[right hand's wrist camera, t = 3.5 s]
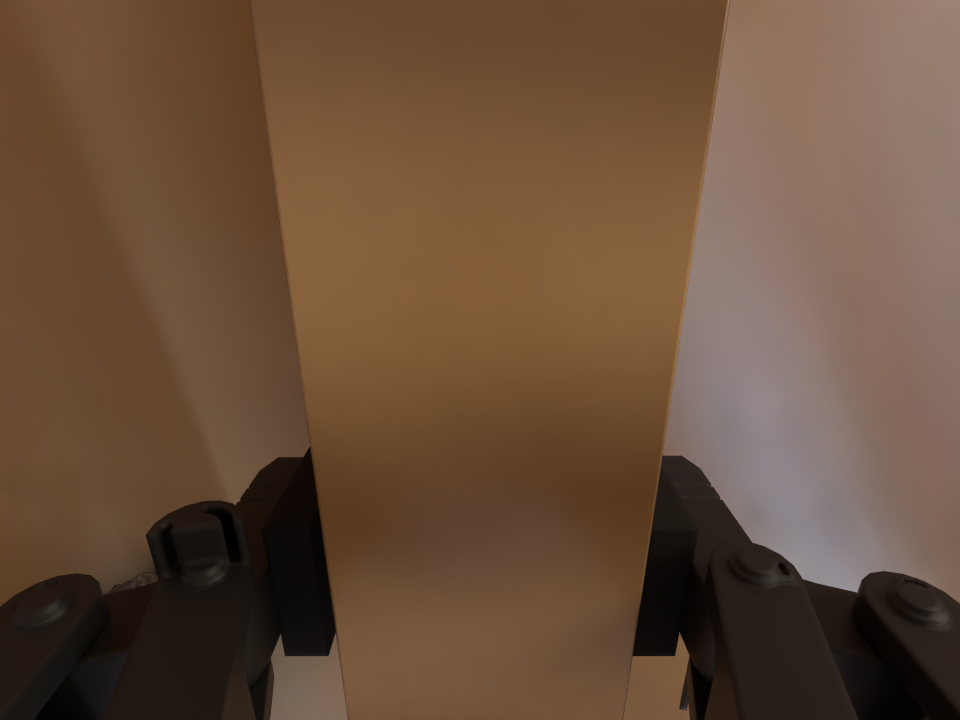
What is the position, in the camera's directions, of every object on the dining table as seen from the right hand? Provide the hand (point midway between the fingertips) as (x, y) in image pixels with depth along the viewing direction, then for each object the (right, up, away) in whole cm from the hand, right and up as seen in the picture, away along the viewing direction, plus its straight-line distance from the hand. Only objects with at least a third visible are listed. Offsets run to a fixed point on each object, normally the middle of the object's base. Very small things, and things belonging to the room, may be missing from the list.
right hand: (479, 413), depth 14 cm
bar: (0, +7, -2) cm, 7 cm away
